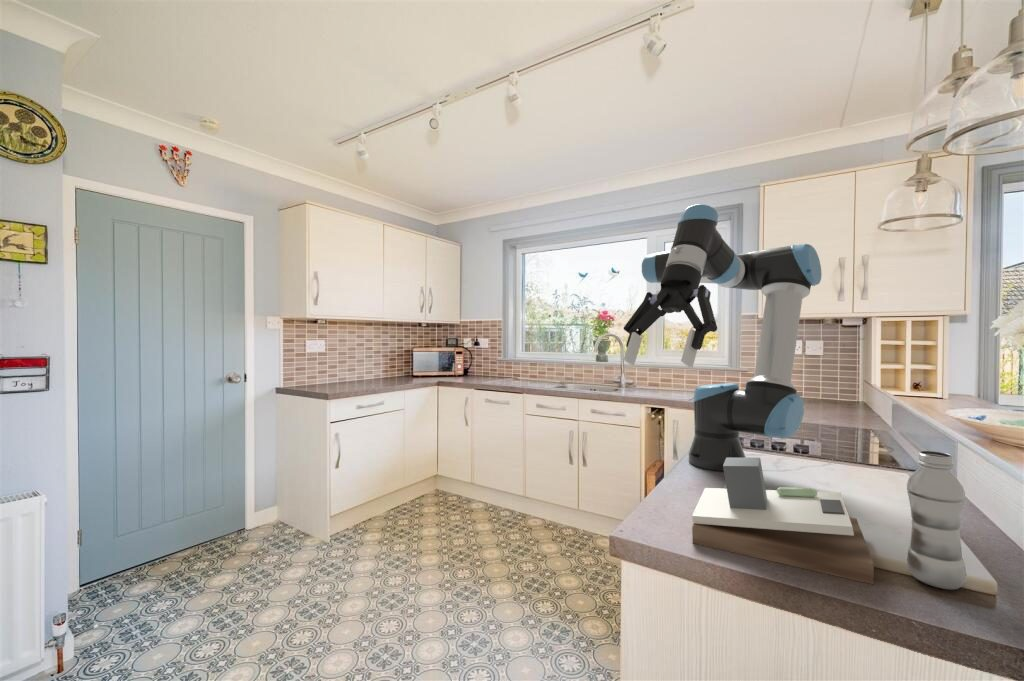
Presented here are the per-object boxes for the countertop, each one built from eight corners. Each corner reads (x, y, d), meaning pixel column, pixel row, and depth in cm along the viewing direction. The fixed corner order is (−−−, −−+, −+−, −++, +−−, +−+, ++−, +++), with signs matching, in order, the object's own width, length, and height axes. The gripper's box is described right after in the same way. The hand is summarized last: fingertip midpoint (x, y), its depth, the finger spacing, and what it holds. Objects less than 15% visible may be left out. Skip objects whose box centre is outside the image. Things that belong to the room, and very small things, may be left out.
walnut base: (706, 507, 95) (706, 493, 95) (856, 534, 81) (856, 518, 81) (692, 543, 79) (692, 526, 79) (873, 584, 66) (873, 563, 65)
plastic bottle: (977, 590, 63) (977, 457, 63) (948, 600, 61) (948, 462, 61) (924, 567, 70) (924, 446, 69) (896, 576, 68) (895, 450, 67)
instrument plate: (706, 494, 94) (698, 451, 94) (842, 499, 81) (832, 450, 81) (693, 523, 80) (685, 473, 81) (854, 535, 67) (843, 475, 68)
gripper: (625, 271, 98) (597, 354, 93) (732, 250, 78) (704, 356, 72) (645, 288, 102) (619, 369, 96) (752, 272, 81) (726, 374, 76)
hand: (655, 363), depth 84 cm, fingers open, 13 cm apart
